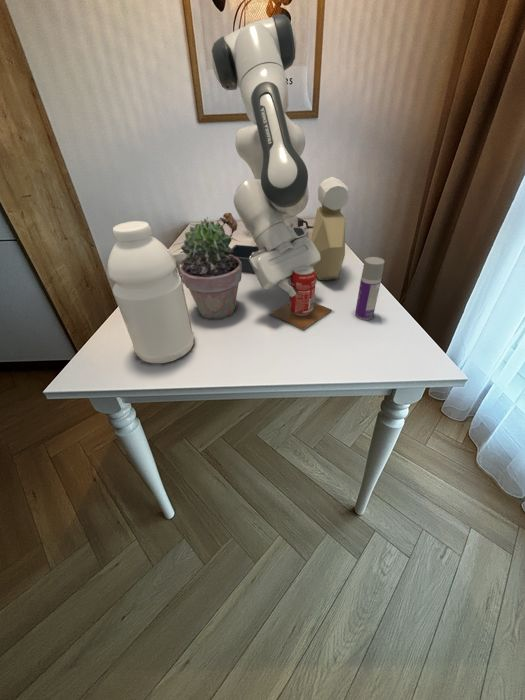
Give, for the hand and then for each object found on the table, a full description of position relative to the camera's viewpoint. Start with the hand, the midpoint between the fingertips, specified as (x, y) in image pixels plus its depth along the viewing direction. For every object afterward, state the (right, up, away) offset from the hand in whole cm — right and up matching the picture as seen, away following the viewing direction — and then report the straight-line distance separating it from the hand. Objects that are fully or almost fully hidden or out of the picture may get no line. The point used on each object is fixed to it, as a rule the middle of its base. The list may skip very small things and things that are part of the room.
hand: (304, 290), depth 79 cm
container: (+16, -6, +3) cm, 18 cm away
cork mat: (0, -5, +5) cm, 7 cm away
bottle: (-34, -14, -4) cm, 37 cm away
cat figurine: (-34, +9, +25) cm, 43 cm away
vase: (+10, +10, +24) cm, 28 cm away
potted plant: (-24, -4, +8) cm, 26 cm away
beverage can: (0, -5, +5) cm, 7 cm away
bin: (-17, +15, +31) cm, 38 cm away
